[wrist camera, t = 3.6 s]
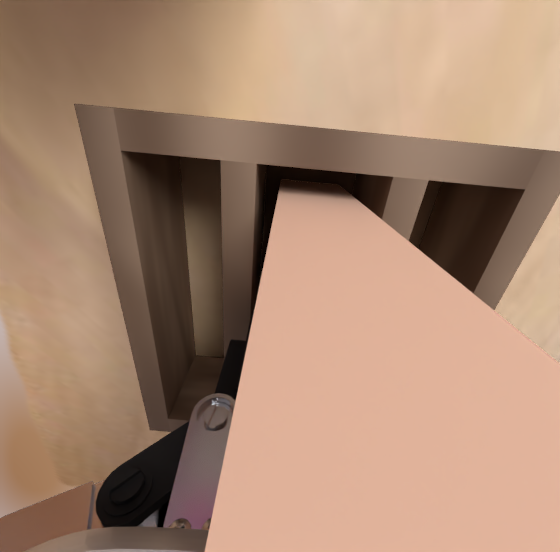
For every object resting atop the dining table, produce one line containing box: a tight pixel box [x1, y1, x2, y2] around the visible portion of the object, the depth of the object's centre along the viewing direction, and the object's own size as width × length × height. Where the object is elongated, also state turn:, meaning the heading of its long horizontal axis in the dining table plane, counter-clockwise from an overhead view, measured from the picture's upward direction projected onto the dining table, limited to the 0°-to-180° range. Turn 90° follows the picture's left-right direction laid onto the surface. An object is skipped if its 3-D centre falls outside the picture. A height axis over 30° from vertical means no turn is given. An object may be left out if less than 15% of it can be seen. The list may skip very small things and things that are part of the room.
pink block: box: [205, 179, 560, 552], centre depth 10 cm, size 3×12×14 cm, turn 175°
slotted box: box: [74, 104, 560, 432], centre depth 14 cm, size 16×16×5 cm
